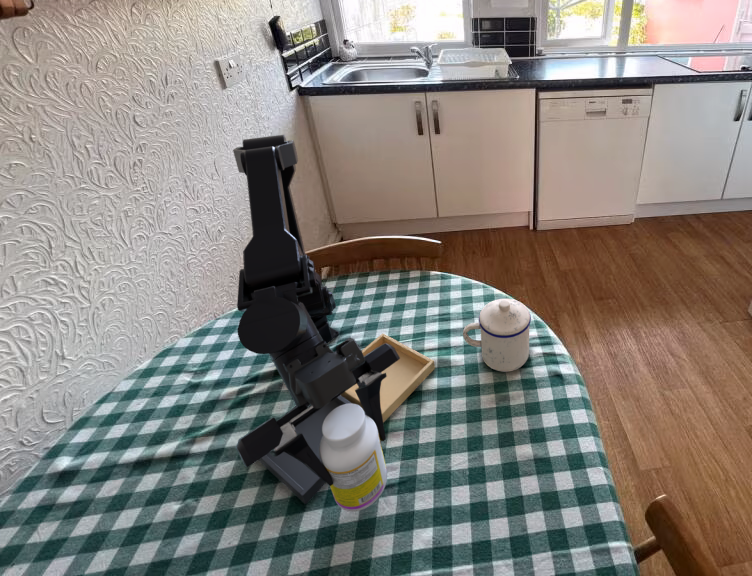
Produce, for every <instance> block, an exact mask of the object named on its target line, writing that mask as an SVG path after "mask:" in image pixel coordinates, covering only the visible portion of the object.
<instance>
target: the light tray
mask: <svg viewBox="0 0 752 576" xmlns="http://www.w3.org/2000/svg"><path fill="white" fill-rule="evenodd" d="M385 343H387V344H390V345H392V346H393V347H394V348H395V350H396V352H397V354H398V355H399V357H400V359H399V360H398V361H396V362H395V363H394V364H392V365H391V366H389V367H388V368H387V369H385V370H384V371H382V372H381V373H382V374H383V373H386V375H387V377H386V378H384V379H383V380H382V381H381V387H380V405H381V412H382V418H383V424H384V423H385V422H386V421H387V420H388V419H389V418H390V416H391V415H392V414H393V413H394V412H395V411H396V410H397V409H398V408H399V407H400V406H401V405H402V404H403V403H404V402H405V401H406V400H407V399H408V398H409V397H410V395H411V394H412V393H413V392H414V391H415V390H416V389H417V388H418V387H419V386H420V385H421V384H422V383H423V382H424V381H425V380H426V379H427V378H428V377H429V375H430V374H432V372H433V371H434V370H435V369H436V365H435V360H434V359H432V358H430V357H429V356H426V355H424V354H422V353H421V352H418V351H417V350H415V349H414V348H412V347H409V346H408V345H406V344H404V343H402V342H400V341H398V340H397V339H394V338H392V337H390V336H389V335H387V334H385V333H384V332H383V333H382V334H380V335H379V336H377V338H375V339H374V340H373V341H372V342H370V343H369V344H368V345H367V346H365V347H364V348H363V349H362V350H361V351H362V353H363V355H364V356H365V355H367V354H368V353H370V352H371V351H373V350H374V349H376V348H378V347H379V346H381V345H383V344H385ZM357 388H359V387H358V385H357V384H355V385H354V386H352V387H351V388H349V389H348V390H347V391H345V392H344V393H342V394H341V396H342V397H343V398H345V399H346V400H348V401H349V402H351V403H352V404H357V405H359V406H360V407H361V408H362V409H363V406H362V404H361V402H360V400H359V398H358V396H357V394H356V392H355V390H356V389H357ZM363 411H364V409H363ZM364 412H365V411H364Z"/></svg>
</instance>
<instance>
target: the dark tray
mask: <svg viewBox="0 0 752 576" xmlns="http://www.w3.org/2000/svg"><path fill="white" fill-rule="evenodd" d="M350 403H351V402H350V401H348V400H347V399H345V398H344V397H342V396H341V395H340V396H338V397H337V398H335V399H334V400H332V401H331V402H330V403H328V404H327V405H325V406H324V407H322V408H321V409H320V410H318V411H317V412H315V413H314V414H312V415H311V416H310V417H308V418H307V419H305V420H304V421H302V422H301V423H300V424H298V425H297V426H295V429H296V430H295V432H296V434H298V433H302V434H303V436H304V438H305V440H306V441H307V443H308V445H309V446H310V448H311V449H312V450H313V452H314V453H315V455H316V456H317V457H318V459H319V460H320V461H321V459H320V455H319V447H320V442H321V439H322V437H323V433H322V425H323V422H324V420H325V418H326V417H327V415H328V414H329V413H330V412H331V411H332V410H334V409H335V408H337V407H339V406H341V405H344V404H350ZM309 405H310V403H308V404H307V405H306V407H307V406H309ZM296 407H297V406H296V405H294V406H293V407H292V408H291V409H289V410H288V411H287V412H286V413H285V414H283V416H285V415H286V414H287V413H289V412H290V411H292V410H293V409H295V408H296ZM364 413H365V412H364ZM365 415H366V413H365ZM283 416H281V417H280V418H282V417H283ZM257 462H259V463H260V464H261V465H262V466H264V468H266V470H267V471H269V472H270V473H271V474H272V475H273V476H274V477H275V478H276V479H278V481H280V483H282V484H283V485H284V486H285V487H286V488H287V489H288V490H289V491H290V492H292V494H293V495H295V496H296V497H297V498H298V499H299V500H300V501H301V502H302V503H303V504H304V505H307V504H308V503H309V502H310V501H311V500H312V498H314V497H315V496H316V495H317V493H319V492H320V490H321V489H323V487H324V486H325V485H327V483H325V482H324V481H323V480H322V479H321V478H319V477H318V476H317V475H316V474H315V473H314V472H312V471H311V470H310V469H309V468H308V467H306V466H305V465H304V464H303V463H301V462H300V461H299V460H297V459H295V458H294V457H292V456H290V455H289V454H287V453H285V452H283V453H281V454H280V455H278V456H277V457H275V456H272V455H271V454H270V452H269V453H267V454H266V455H265V456H263V457H262V458H260V459H259V460H258V461H257ZM321 463H322V462H321Z"/></svg>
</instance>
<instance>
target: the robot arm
mask: <svg viewBox="0 0 752 576" xmlns="http://www.w3.org/2000/svg"><path fill="white" fill-rule="evenodd" d="M232 152H233V157H234V159H235V163H236V167H237V171H238V173H241V174H244V175H245V176H246V181H247V182H246V183H247V191H248V201H249V211H250V219H251V230H252V231H251V232H252V237H251V238H250V240H249V242H248V243H247V245H246V246H245V247H244V248H243V251H242V256H243V259H242V260H243V261H242V262H243V268H241V269H240V270H239V274H238V289H237V302H236V308H237V311H239V312H242V315H241V317H240V319H239V322H238V326H237V329H236V330H237V336H238V340H239V342H240V343H241V344H242V346H243V347H244V348H245V349H246V350H248V351H249V352H252V353H254V354H259V355H269V357H270V358H271V359H270V360H271V361H272V362H273V364H274V367H275V369H276V370H277V372H278V374H279V376H280V378H281V380H282V382H283V383H284V385H285V387H286V389H287V391H288V393H289V395H290V397H291V399H292V401H293V403H294V404H295V406H297V407H296V408H295V409H293V410H292V411H290V410H289V411H290V412H289V411H288V412H289V413H287V412H286V413H287V414H286V413H285V414H286V415H285V414H284V415H285V416H284V415H282V416H281V417H282V418H281V417H280V418H279V419H276V418H275V417H271V418H268V419H267V420H266V421H263V423H261V424H259V425H258V426H257V427H255V428H254V429H252V430H250V431H249V432H248V433H246V434H245V435H243V436H241V437H240V438H239V439H238V440H237V443H236V445H235V449H236V452H237V454H238V455H239V457H240V459H241V461H242V464H243V465H244V467H245V468H249V467H250V466H252V465H253V464H255V463H257V462H259V461H258V460H259V459H260V458H262V457H263V456H265V455H266V454H267V453H269V452H270V454H271V455H272V456H275V457H277V456H278V455H280V454H281V453H283V452H285V453H287V454H289V455H290V456H292V457H294V458H295V459H297V460H299V461H300V462H301V463H303V464H304V465H305V466H306V467H308V468H309V469H310V470H311V471H312V472H314V473H315V474H316V475H317V476H318V477H319V478H321V479H322V480H323V481H324V482H325V483H326V485H328V486H329V487H330V486H331V485H333V481H332V479H331V477H330V475H329V473H328V471H327V470H326V468H325V467H324V466H323V464H322V463H321V461H320V460H319V459H318V457H317V456H316V455H315V453H314V452H313V450H312V449H311V448H310V446H309V445H308V443H307V441H306V440H305V438H304V436H303V434H302V433H298V434H296V432H295V430H296V429H295V426H297V425H298V424H300V423H301V422H302V421H304V420H305V419H307V418H308V417H310V416H311V415H312V414H314V413H315V412H317V411H318V410H320V409H321V408H322V407H324V406H325V405H327V404H328V403H330V402H331V401H332V400H334V399H335V398H337V397H338V396H340V395H341V394H342V393H344V392H345V391H347V390H348V389H349V388H351V387H352V386H354V385H355V384H357V385H358V387H359V388H357V389H356V390H355V392H356V394H357V396H358V398H359V400H360V402H361V404H362V406H363V409H364V411H365V413H366V415H367V416H369V417H370V418H371V419H372V420H373V421H374V422H375V424H376V426H377V429H378V433H379V438H380V442H385V441H386V439H387V436H386V432H385V425H384V423H383V418H382V412H381V405H380V387H381V381H382V380H383V379H384V378H386V377H387V375H386V373H383V374H382V373H381V372H382V371H384V370H385V369H387V368H388V367H389V366H391V365H392V364H394V363H395V362H396V361H398V360H399V359H400V357H399V355H398V354H397V352H396V350H395V348H394V347H393V346H392V345H390V344H387V343H385V344H383V345H381V346H379V347H378V348H376V349H374V350H373V351H371V352H370V353H368V354H367V355H365V356H364V355H363V353H362V350H361V347H360V346H359V344H358V343H357V341H356V339H355V338H353V337H348V338H347V339H345V340H344V341H342V342H341V343H338V344H337V345H336V347H335V349H336V350H334V351H333V350H332V349H331V348H330V346H329V345H328V344H329V343H330V342H332V341H333V340H335V339H336V338H338V336H340V331H338V330H336V329H335V328H333V327H331V326H330V324H329V319H328V316H332V315H334V310H335V309H336V308H337V305H336V301H335V297H334V294H333V292H332V291H330V289H329V288H328V287H327V285H324V286H323V282H322V277H321V275H320V274H319V273H318V272H316V266H315V263H314V260H311V259H310V256H309V255H308V254H307V253H306V251H305V246H304V241H303V238H302V234H301V229H300V224H299V220H298V216H297V211H296V206H295V202H294V197H293V194H292V193H293V192H292V189H291V184H292V181H293V179H294V177H295V174H296V171H297V167H296V165H298V161H299V158H298V152H297V148H296V144H295V141H294V139H290V140H287V138H286V135H285V134H278V135H277V134H276V135H269V136H262V137H254V138H253V137H252V138H245V139H242V146H238V147H237V146H236V147H235V148H233V149H232ZM308 403H310V405H309V406H307V407H306V405H307V404H308Z"/></svg>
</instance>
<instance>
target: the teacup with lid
mask: <svg viewBox="0 0 752 576" xmlns="http://www.w3.org/2000/svg"><path fill="white" fill-rule="evenodd" d="M531 320H532V317H531V313H530V310H529V309H528V308H527V306H526V305H525V304H524V303H522V302H521V301H520V300H519V301H518V300H516V299H513V298H499V299H494V300H492V301H490V302H488V303H487V304H486V305H484V307H482V309H481V310H480V313H479V315H478V322H471V323H469V324H467V325H465V326H464V328H463V331H462V337H463V340H464V341H465V343H466V344H467V345H469V346H472V347H475V348H481V357H482V359H483V362H484V363H485V364H486V365H487V366H488V367H489V368H490V369H493V370H495V371H497V372H502V373H503V372H505V373H507V372H513V371H516V370H518V369H520V368H521V367H522V366H524V365H525V364H526V362H527V361H528V359H529V357H530V325H531V323H532V322H531ZM473 330H480V340H479V339H474V338H471V337H470V336H469V334H468V332H470V331H473Z"/></svg>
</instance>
